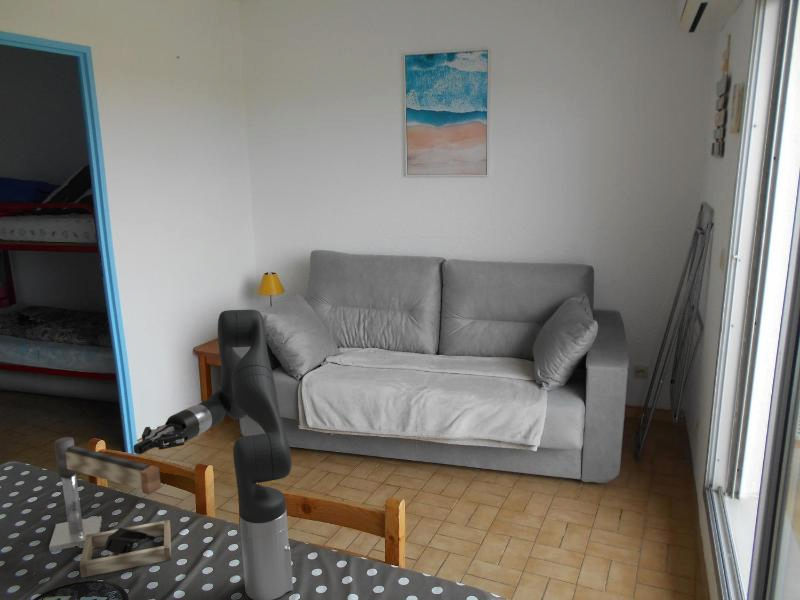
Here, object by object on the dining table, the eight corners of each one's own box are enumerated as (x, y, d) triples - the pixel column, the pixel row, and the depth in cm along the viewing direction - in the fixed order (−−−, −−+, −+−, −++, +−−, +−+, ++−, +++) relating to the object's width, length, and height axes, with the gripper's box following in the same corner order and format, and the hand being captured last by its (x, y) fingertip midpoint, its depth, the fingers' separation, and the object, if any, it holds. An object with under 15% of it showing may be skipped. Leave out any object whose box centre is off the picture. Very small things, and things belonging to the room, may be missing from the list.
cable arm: (54, 475, 150) (50, 442, 148) (70, 467, 153) (65, 436, 151) (148, 502, 137) (144, 467, 135) (163, 493, 140) (159, 459, 139)
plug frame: (170, 531, 155) (169, 519, 154) (170, 559, 144) (169, 547, 143) (87, 546, 149) (86, 534, 149) (81, 577, 138) (79, 565, 138)
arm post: (102, 520, 160) (94, 461, 157) (97, 542, 151) (89, 480, 148) (56, 528, 157) (48, 468, 154) (49, 551, 148) (40, 488, 144)
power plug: (163, 536, 151) (124, 530, 141) (151, 570, 149) (111, 567, 139) (145, 531, 154) (106, 524, 144) (133, 564, 151) (93, 560, 141)
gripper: (169, 405, 170) (114, 430, 155) (208, 413, 164) (155, 440, 149) (171, 432, 171) (117, 459, 156) (210, 441, 166) (158, 470, 151)
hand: (136, 450), depth 153 cm, fingers closed
